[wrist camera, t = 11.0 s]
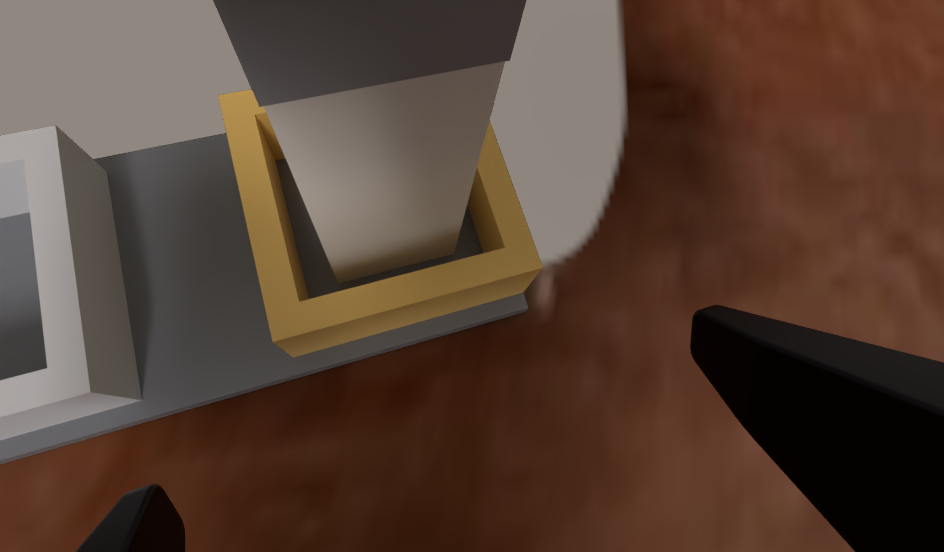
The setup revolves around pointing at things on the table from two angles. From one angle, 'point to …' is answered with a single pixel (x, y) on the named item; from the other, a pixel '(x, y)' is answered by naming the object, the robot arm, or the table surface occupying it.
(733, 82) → the table surface
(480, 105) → the white plug
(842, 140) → the table surface
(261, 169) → the socket board
